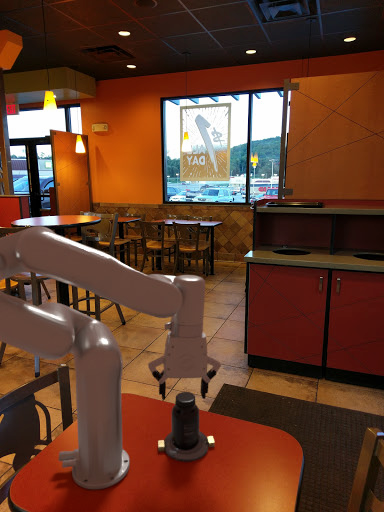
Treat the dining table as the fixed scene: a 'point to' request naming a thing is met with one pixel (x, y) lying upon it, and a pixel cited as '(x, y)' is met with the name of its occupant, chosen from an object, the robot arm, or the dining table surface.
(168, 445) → the base
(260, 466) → the dining table surface
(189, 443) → the supplement bottle
